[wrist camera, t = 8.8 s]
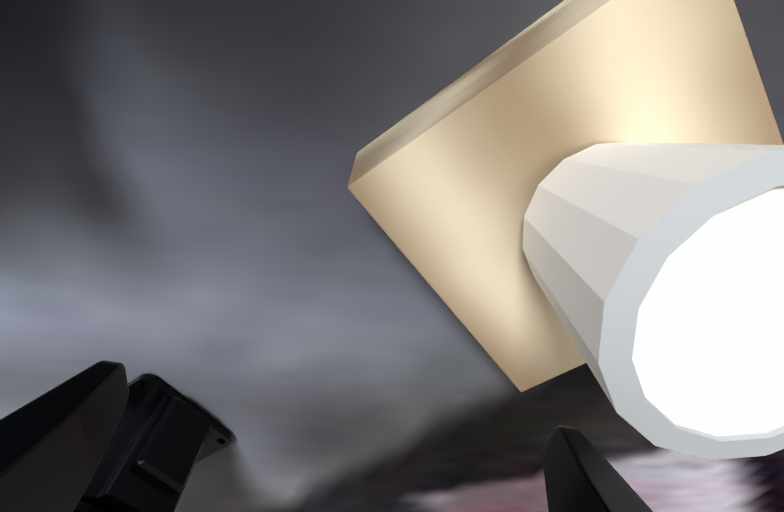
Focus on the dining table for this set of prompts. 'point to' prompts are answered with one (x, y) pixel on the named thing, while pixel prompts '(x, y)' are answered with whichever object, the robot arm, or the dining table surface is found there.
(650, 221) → the shot glass
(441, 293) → the ash block
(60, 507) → the robot arm
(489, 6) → the dining table surface
